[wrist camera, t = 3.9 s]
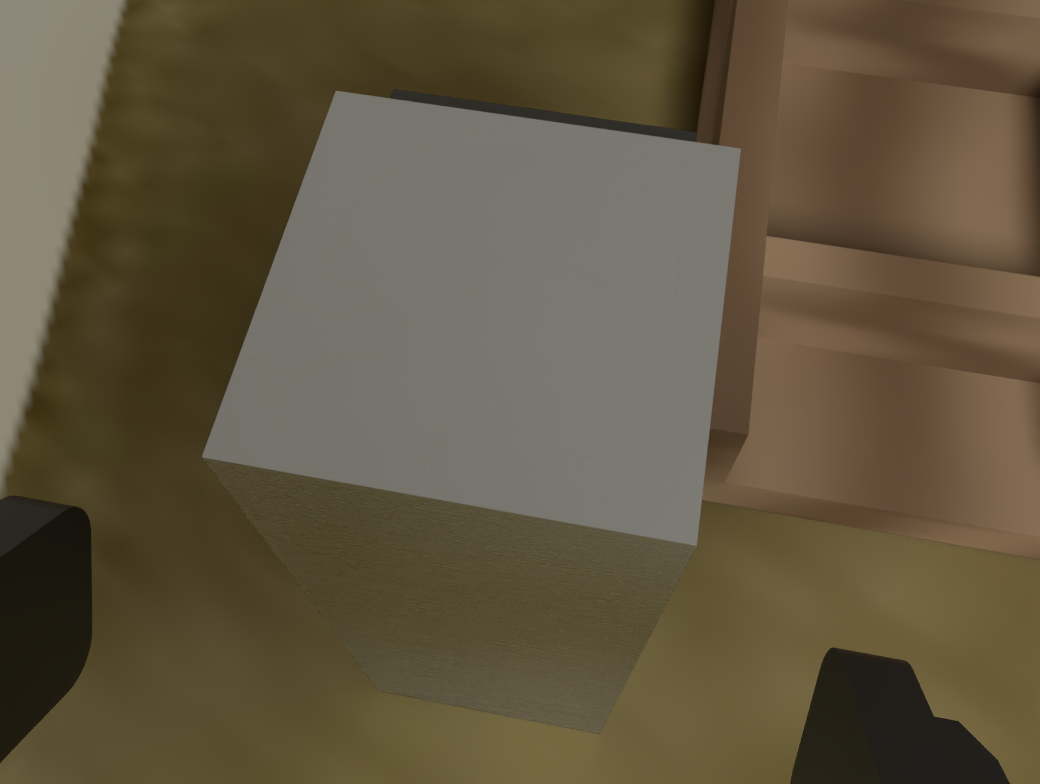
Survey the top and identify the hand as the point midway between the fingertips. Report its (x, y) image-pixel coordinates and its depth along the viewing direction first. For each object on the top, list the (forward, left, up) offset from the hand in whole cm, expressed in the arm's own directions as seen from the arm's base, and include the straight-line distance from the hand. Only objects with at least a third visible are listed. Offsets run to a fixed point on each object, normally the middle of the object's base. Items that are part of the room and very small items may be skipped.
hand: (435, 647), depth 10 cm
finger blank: (0, -3, -10) cm, 10 cm away
